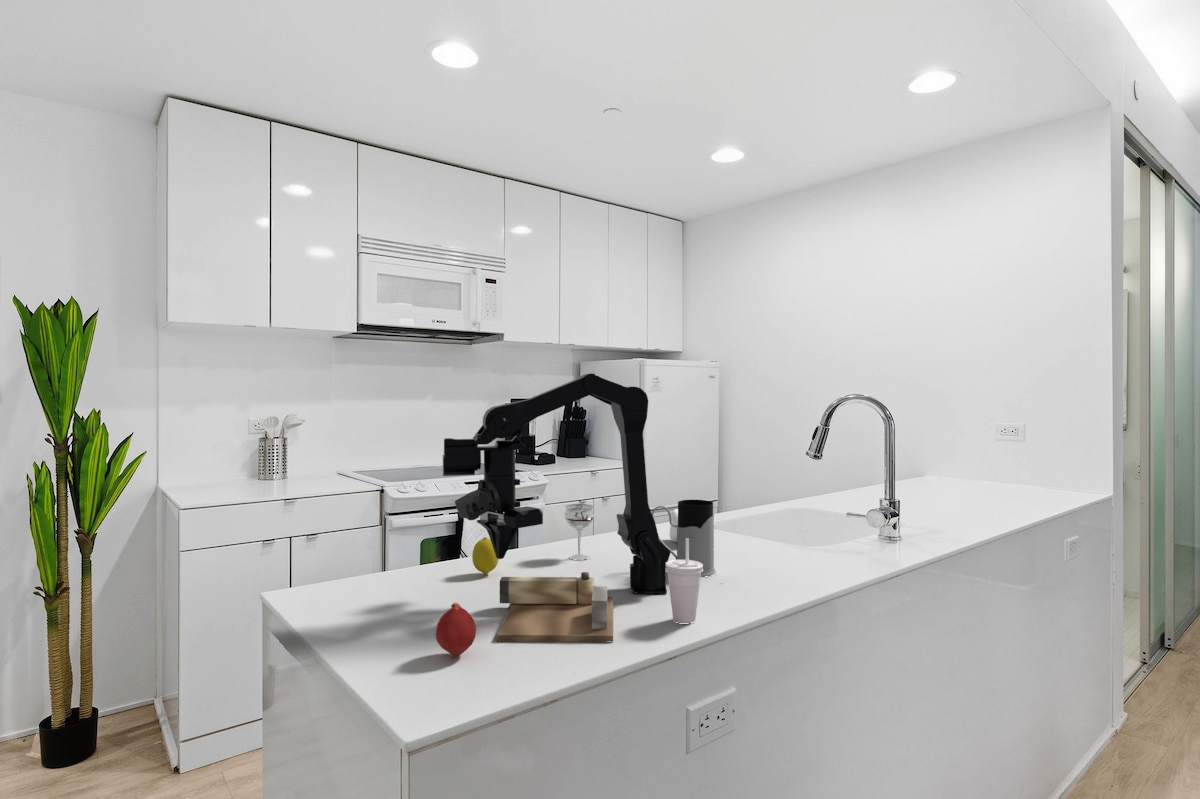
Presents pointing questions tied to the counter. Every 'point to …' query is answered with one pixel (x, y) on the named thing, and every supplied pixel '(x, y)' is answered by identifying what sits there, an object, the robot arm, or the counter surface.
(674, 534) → the white rounded piece
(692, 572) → the smoothie
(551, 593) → the leg
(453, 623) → the onion
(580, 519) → the wineglass
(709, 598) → the counter surface
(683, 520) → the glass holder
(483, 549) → the lemon
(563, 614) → the seat
